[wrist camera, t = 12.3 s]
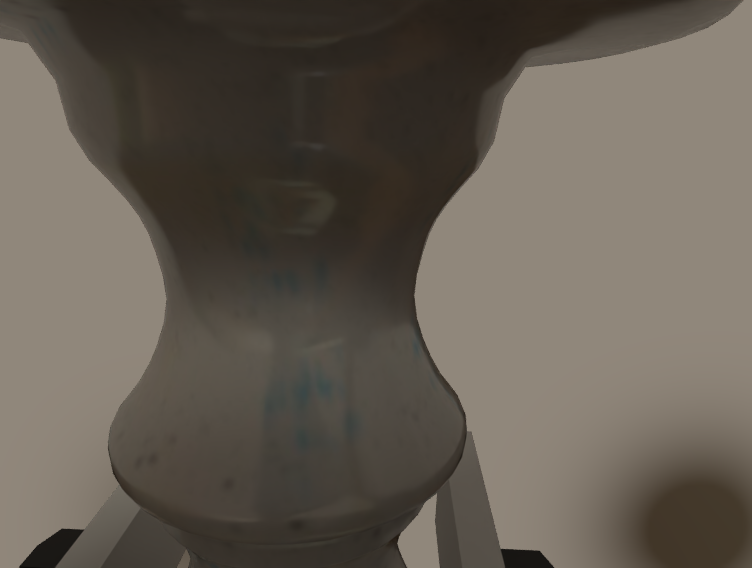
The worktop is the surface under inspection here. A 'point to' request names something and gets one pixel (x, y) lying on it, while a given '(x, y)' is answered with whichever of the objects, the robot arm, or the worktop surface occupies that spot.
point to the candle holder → (300, 239)
